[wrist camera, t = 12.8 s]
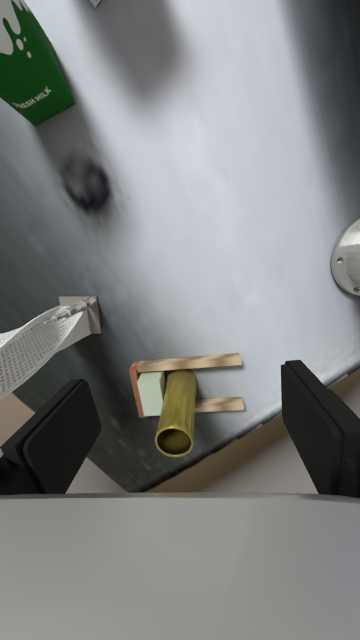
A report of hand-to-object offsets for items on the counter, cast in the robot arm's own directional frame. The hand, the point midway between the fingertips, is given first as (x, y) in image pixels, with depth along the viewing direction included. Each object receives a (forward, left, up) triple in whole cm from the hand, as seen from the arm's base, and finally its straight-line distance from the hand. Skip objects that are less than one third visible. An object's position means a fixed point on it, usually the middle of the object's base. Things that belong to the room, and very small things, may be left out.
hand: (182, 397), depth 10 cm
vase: (+4, +17, -28) cm, 33 cm away
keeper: (+10, +17, -28) cm, 34 cm away
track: (+3, +17, -28) cm, 33 cm away
